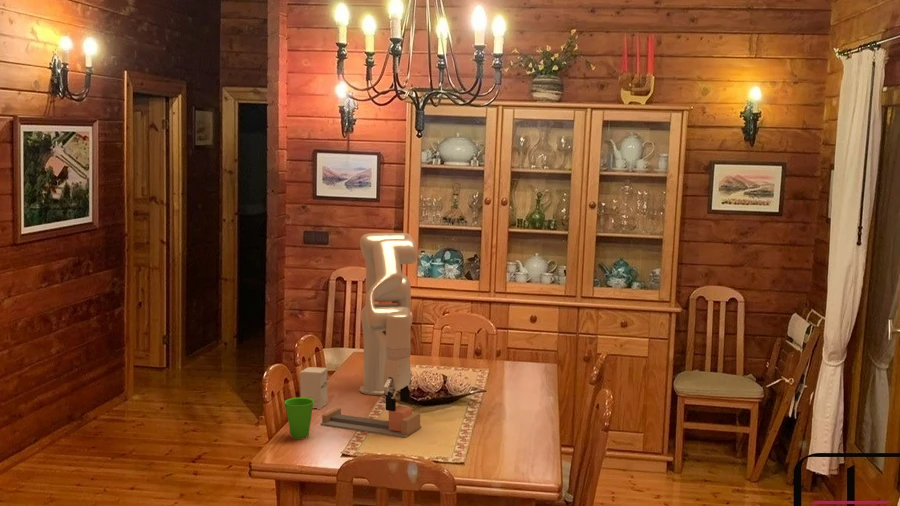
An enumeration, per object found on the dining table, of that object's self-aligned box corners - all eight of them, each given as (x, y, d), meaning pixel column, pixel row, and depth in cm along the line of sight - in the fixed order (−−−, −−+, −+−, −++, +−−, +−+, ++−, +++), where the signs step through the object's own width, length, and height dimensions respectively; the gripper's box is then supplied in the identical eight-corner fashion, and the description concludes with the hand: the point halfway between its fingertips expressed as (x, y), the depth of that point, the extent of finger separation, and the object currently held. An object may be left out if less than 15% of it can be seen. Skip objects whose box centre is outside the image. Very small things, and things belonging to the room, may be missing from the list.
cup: (303, 430, 282) (302, 395, 280) (320, 437, 275) (320, 401, 274) (278, 436, 275) (278, 401, 274) (296, 443, 269) (295, 407, 268)
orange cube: (398, 424, 285) (398, 405, 285) (412, 426, 283) (412, 407, 283) (388, 429, 280) (388, 410, 279) (403, 431, 278) (403, 412, 277)
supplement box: (320, 409, 304) (320, 372, 302) (299, 408, 305) (299, 371, 304) (328, 403, 311) (327, 367, 310) (307, 402, 313) (307, 366, 311)
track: (338, 415, 297) (338, 401, 296) (421, 427, 285) (421, 412, 284) (320, 425, 287) (320, 409, 286) (405, 437, 275) (405, 421, 274)
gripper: (400, 344, 289) (399, 396, 291) (373, 357, 273) (373, 412, 275) (421, 347, 286) (421, 400, 288) (396, 360, 270) (395, 416, 272)
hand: (397, 406), depth 282 cm, fingers open, 9 cm apart
